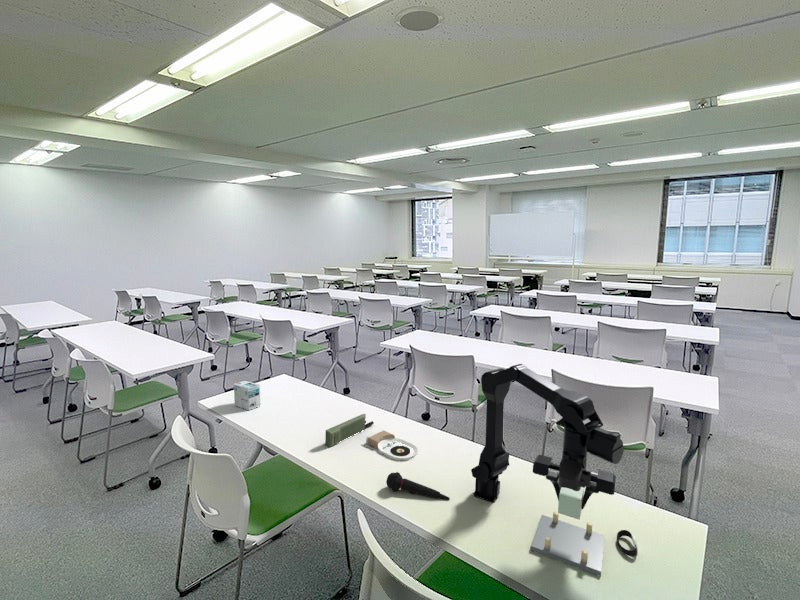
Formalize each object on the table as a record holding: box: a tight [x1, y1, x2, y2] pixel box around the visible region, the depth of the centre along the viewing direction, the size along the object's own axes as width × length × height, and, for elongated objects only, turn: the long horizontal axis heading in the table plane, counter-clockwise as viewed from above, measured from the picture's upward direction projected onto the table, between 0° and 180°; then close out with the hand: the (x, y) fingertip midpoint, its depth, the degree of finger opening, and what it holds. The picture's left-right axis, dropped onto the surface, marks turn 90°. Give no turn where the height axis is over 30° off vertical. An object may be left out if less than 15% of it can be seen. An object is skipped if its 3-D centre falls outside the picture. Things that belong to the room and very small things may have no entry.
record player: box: [365, 429, 419, 461], centre depth 153 cm, size 12×3×20 cm
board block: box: [557, 487, 585, 520], centre depth 104 cm, size 5×7×5 cm
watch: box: [616, 529, 639, 557], centre depth 105 cm, size 8×5×4 cm, turn 165°
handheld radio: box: [324, 413, 374, 448], centre depth 163 cm, size 7×3×25 cm
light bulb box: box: [233, 380, 261, 411], centre depth 190 cm, size 11×7×11 cm, turn 58°
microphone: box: [385, 471, 450, 501], centre depth 126 cm, size 6×6×20 cm
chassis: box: [530, 511, 606, 577], centre depth 105 cm, size 16×14×4 cm
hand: (570, 504), depth 104 cm, fingers closed on board block, 5 cm apart
